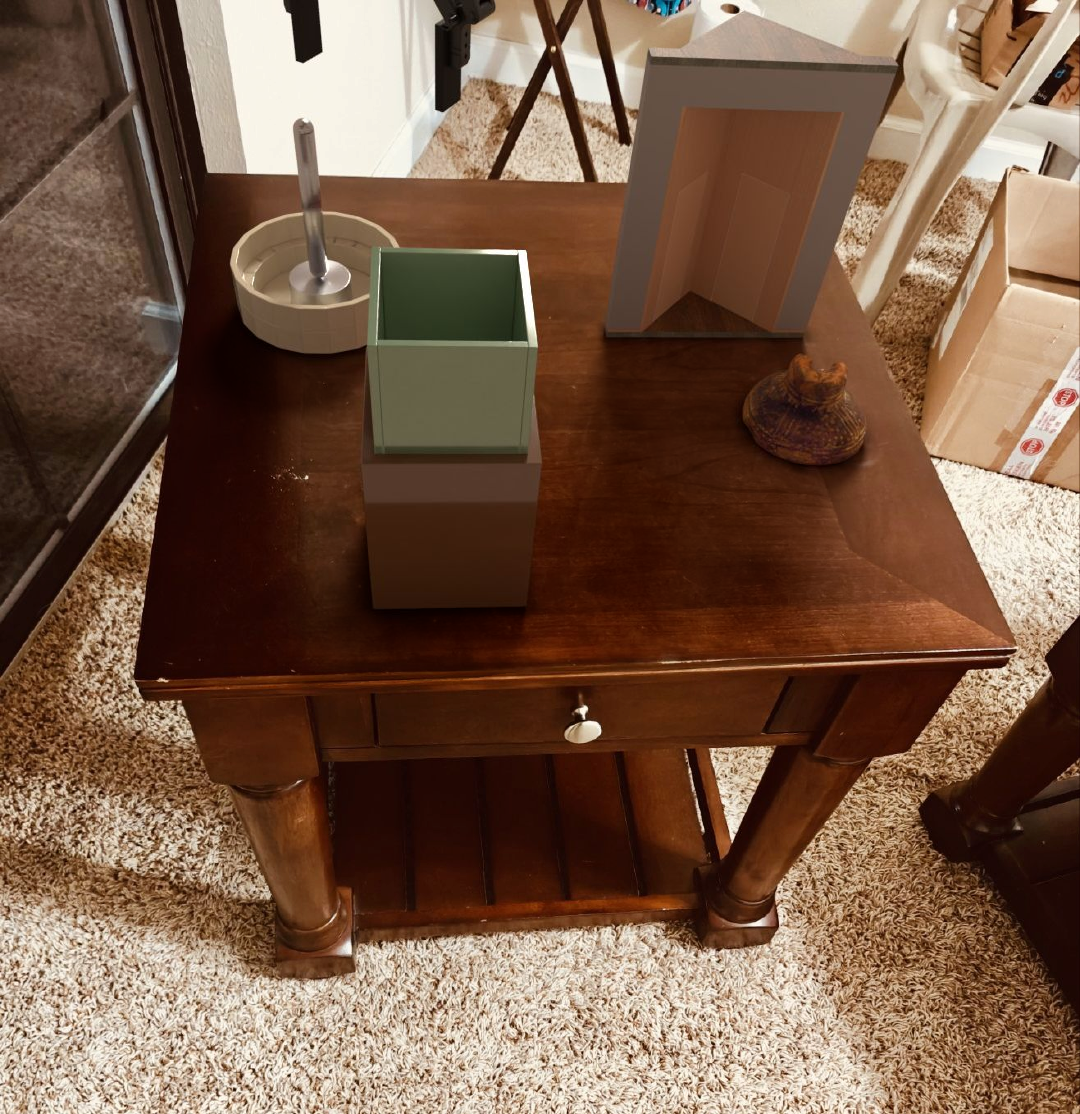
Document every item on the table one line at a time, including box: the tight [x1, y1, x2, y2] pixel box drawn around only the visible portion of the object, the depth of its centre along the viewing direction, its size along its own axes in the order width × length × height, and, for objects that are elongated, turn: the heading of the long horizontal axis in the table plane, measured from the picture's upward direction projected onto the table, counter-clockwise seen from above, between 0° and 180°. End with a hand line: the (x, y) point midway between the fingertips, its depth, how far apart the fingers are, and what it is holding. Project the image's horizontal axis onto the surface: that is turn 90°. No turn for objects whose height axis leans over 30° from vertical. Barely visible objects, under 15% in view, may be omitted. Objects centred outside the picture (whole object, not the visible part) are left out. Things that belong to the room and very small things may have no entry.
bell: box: [742, 353, 868, 466], centre depth 92 cm, size 12×12×7 cm
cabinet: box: [603, 10, 899, 339], centre depth 95 cm, size 21×10×28 cm, turn 95°
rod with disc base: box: [289, 117, 352, 305], centre depth 92 cm, size 6×6×19 cm
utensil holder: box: [360, 247, 543, 610], centre depth 72 cm, size 12×12×25 cm
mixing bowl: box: [229, 210, 401, 355], centre depth 98 cm, size 16×16×6 cm
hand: (377, 80), depth 81 cm, fingers open, 13 cm apart
